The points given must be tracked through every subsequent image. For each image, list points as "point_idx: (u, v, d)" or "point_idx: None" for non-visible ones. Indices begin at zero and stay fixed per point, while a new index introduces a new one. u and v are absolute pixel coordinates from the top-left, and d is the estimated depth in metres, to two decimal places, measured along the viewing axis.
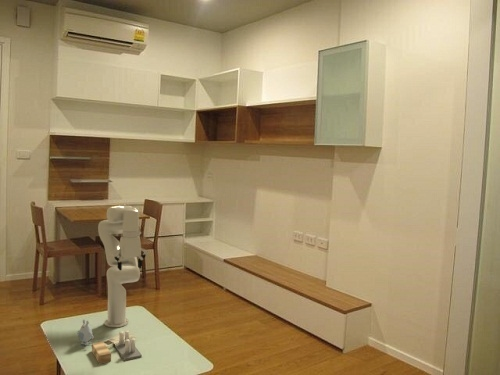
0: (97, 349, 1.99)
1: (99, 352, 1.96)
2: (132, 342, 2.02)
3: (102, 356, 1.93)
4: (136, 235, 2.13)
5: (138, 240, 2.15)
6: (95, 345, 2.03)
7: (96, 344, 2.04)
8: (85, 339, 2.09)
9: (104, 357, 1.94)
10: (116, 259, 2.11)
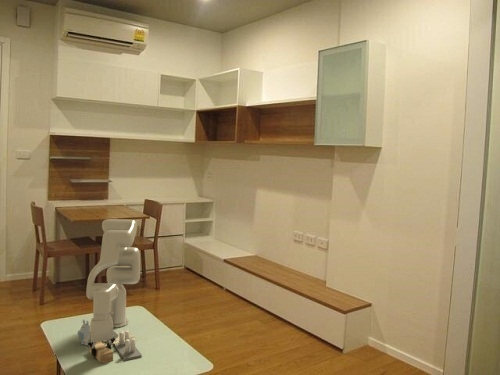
0: (97, 349, 1.98)
1: (100, 351, 1.96)
2: (132, 342, 2.02)
3: (104, 355, 1.94)
4: (108, 317, 1.97)
5: (110, 322, 1.99)
6: None
7: None
8: None
9: (106, 356, 1.95)
10: (89, 345, 1.96)
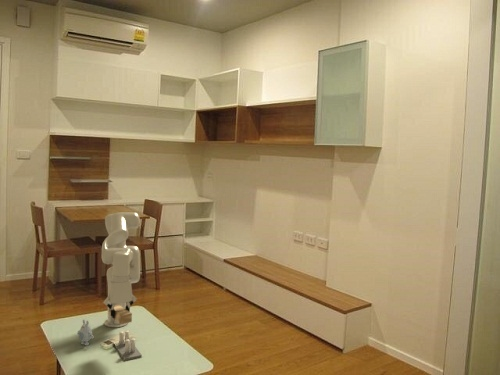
0: (116, 311, 2.03)
1: (119, 313, 2.00)
2: (132, 342, 2.02)
3: (123, 316, 1.98)
4: (126, 280, 2.01)
5: (129, 285, 2.03)
6: None
7: None
8: (85, 339, 2.09)
9: (125, 317, 1.99)
10: (109, 307, 2.01)
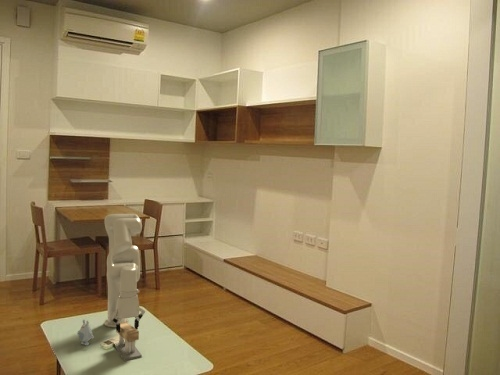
0: (123, 328, 2.05)
1: (127, 330, 2.03)
2: (132, 342, 2.02)
3: (130, 334, 2.01)
4: (134, 295, 2.04)
5: (136, 299, 2.06)
6: (120, 325, 2.09)
7: (120, 324, 2.10)
8: (85, 339, 2.09)
9: (132, 335, 2.01)
10: (114, 321, 2.02)
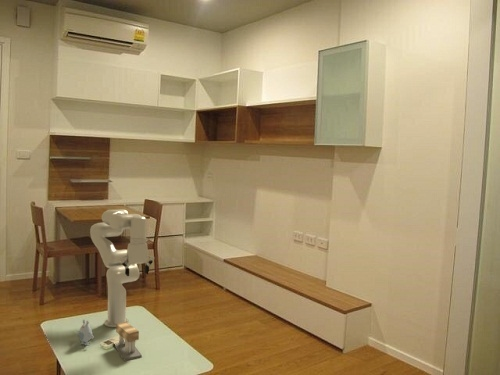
0: (123, 328, 2.05)
1: (127, 330, 2.03)
2: (132, 342, 2.02)
3: (130, 334, 2.01)
4: (143, 242, 2.18)
5: (145, 247, 2.19)
6: (120, 325, 2.09)
7: (120, 324, 2.10)
8: (85, 339, 2.09)
9: (132, 335, 2.01)
10: (124, 265, 2.16)
